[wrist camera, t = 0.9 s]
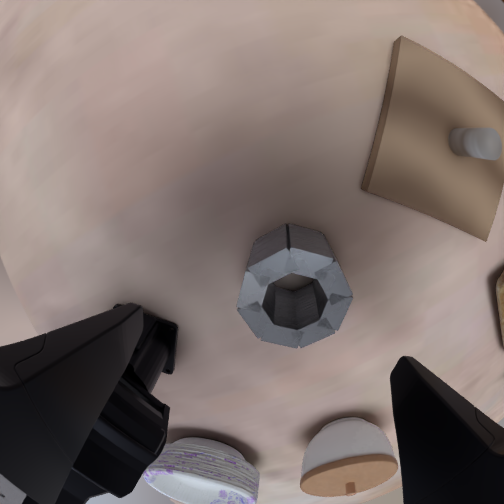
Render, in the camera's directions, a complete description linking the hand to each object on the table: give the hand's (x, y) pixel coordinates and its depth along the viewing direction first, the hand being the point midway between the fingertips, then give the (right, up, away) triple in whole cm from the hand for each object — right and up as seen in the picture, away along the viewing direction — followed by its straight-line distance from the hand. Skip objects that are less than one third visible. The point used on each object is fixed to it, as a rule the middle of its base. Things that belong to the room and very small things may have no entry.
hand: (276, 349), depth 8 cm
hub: (+2, +2, +12) cm, 12 cm away
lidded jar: (+10, -18, +19) cm, 28 cm away
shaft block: (+14, +11, +7) cm, 19 cm away
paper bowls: (-7, -26, +24) cm, 35 cm away
